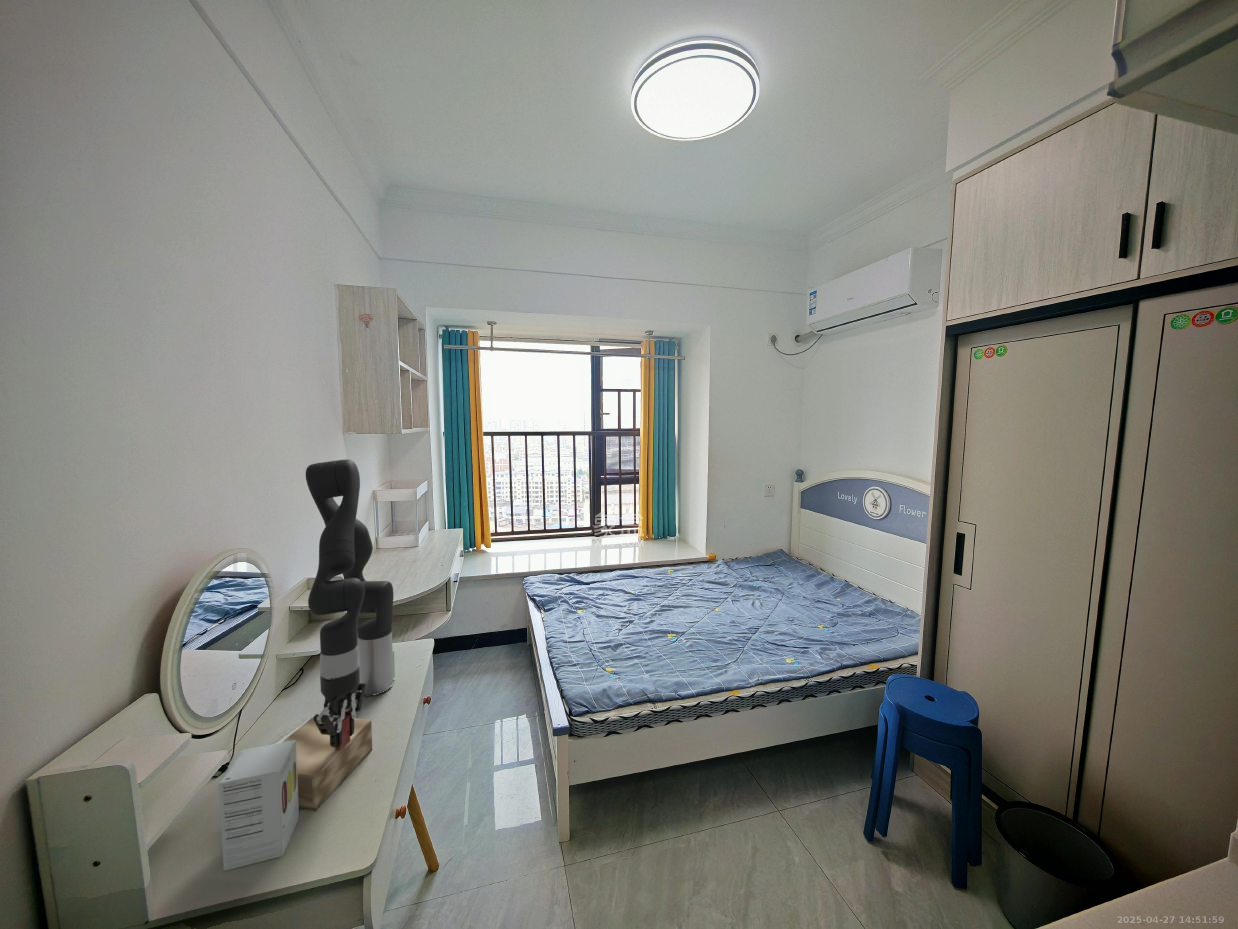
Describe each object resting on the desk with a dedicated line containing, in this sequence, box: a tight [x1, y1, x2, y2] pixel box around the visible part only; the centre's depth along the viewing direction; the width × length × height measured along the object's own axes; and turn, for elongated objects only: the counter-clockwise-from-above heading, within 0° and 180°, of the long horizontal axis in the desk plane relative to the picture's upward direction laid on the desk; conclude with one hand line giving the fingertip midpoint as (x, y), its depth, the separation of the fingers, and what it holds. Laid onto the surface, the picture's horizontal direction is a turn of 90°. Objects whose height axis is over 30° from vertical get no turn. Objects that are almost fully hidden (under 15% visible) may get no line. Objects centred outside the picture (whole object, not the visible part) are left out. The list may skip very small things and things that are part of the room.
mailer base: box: [297, 723, 373, 812], centre depth 103 cm, size 18×15×7 cm
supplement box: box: [218, 740, 300, 871], centre depth 86 cm, size 10×9×17 cm
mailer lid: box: [283, 715, 372, 779], centre depth 102 cm, size 18×15×7 cm
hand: (342, 740), depth 102 cm, fingers closed on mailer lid, 3 cm apart
